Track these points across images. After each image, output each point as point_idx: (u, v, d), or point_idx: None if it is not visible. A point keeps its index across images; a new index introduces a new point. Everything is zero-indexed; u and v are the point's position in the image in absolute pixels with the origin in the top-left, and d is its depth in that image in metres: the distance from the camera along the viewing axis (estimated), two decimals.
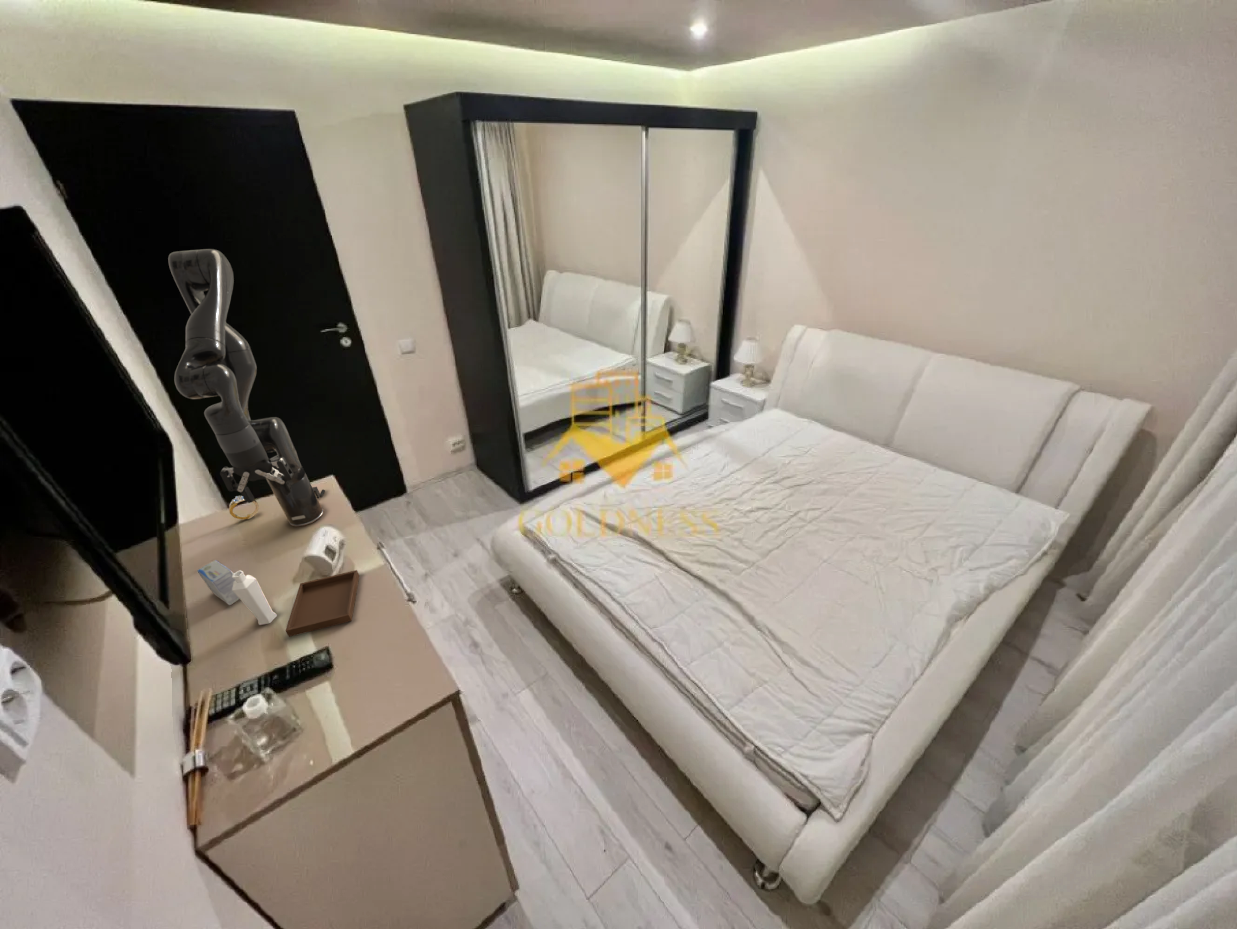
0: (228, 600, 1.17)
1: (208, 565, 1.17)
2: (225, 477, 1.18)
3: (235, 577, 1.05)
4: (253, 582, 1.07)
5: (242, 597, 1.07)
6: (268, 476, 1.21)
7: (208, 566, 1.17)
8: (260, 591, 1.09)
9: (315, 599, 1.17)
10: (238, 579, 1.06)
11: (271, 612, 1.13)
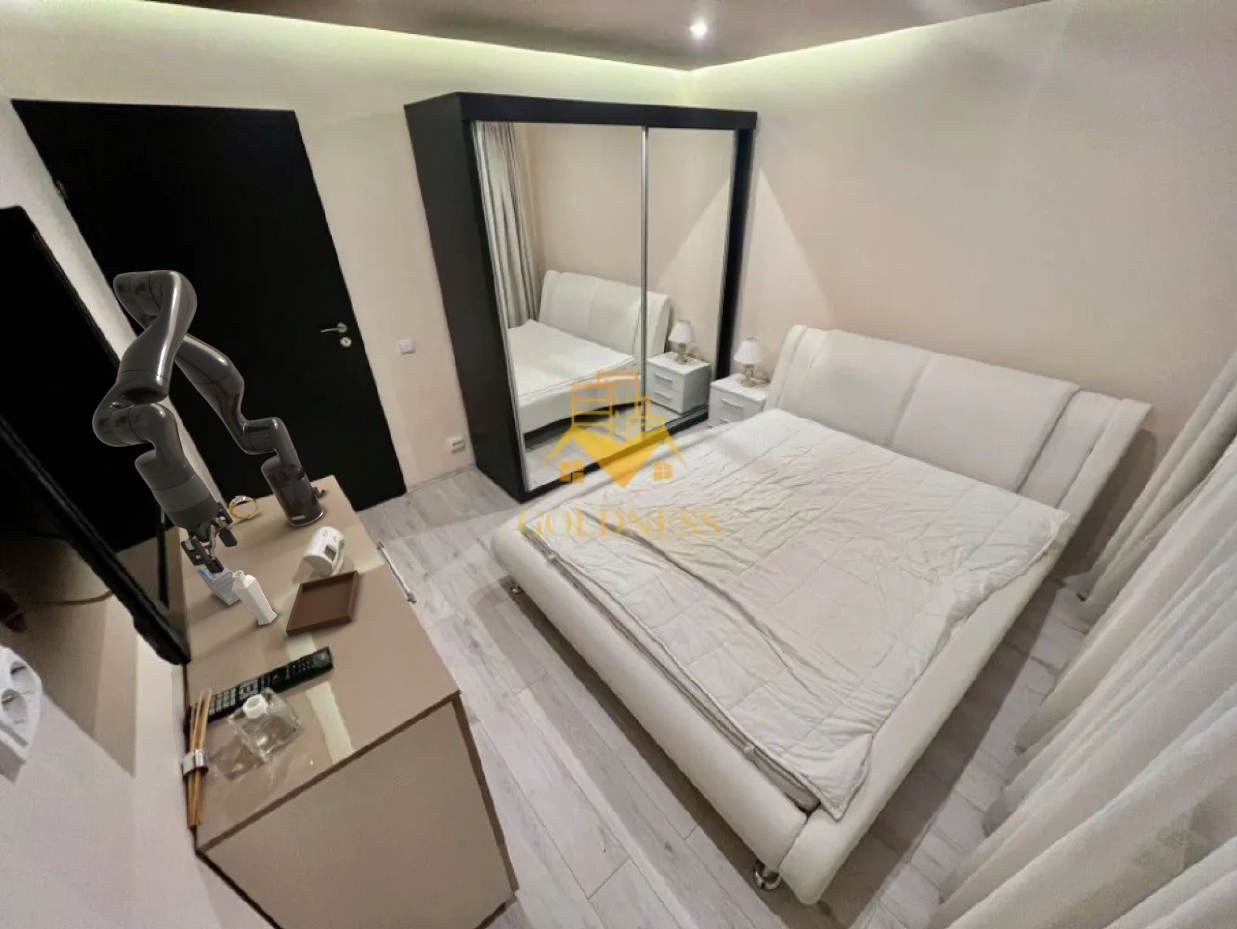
0: (228, 600, 1.17)
1: None
2: None
3: (235, 577, 1.05)
4: (253, 582, 1.07)
5: (242, 597, 1.07)
6: None
7: None
8: (260, 591, 1.09)
9: (315, 599, 1.17)
10: (238, 579, 1.06)
11: (271, 612, 1.13)
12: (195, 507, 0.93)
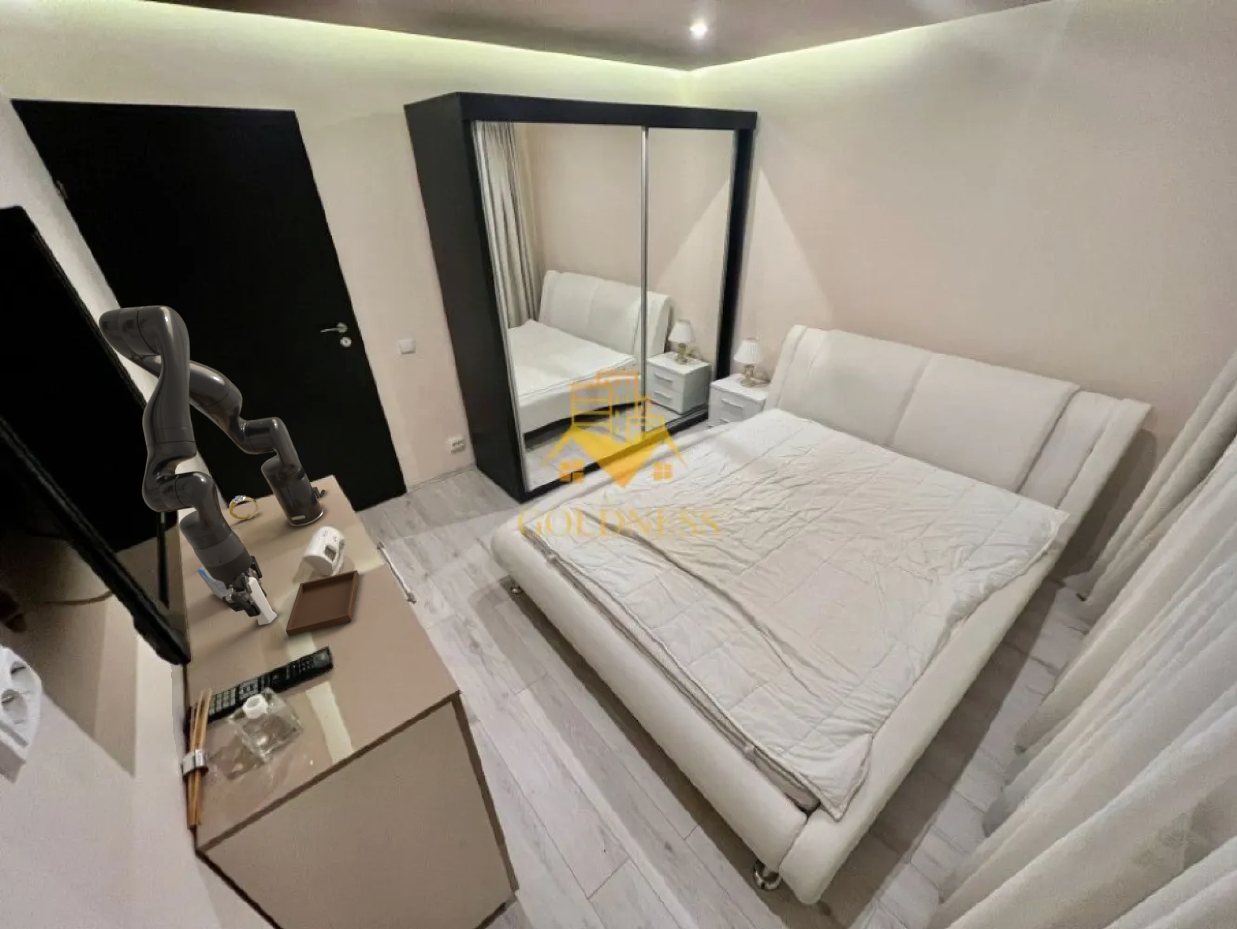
0: None
1: None
2: None
3: None
4: (253, 583, 1.07)
5: None
6: None
7: None
8: (260, 591, 1.09)
9: (315, 599, 1.17)
10: None
11: (271, 612, 1.13)
12: (232, 562, 1.01)
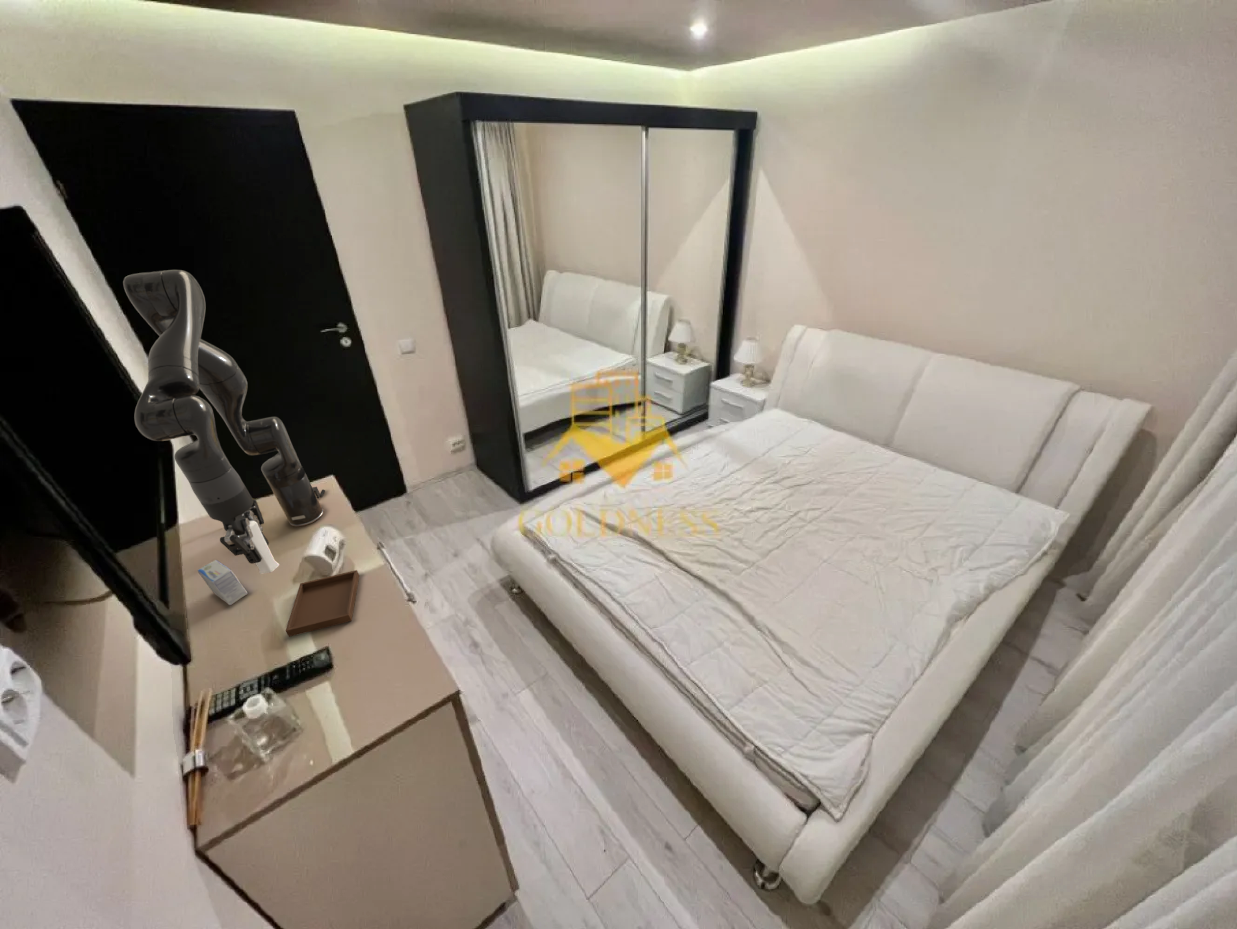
0: (228, 599, 1.17)
1: (208, 565, 1.17)
2: None
3: None
4: (254, 526, 1.00)
5: None
6: None
7: (208, 565, 1.17)
8: (261, 536, 1.02)
9: (315, 599, 1.17)
10: None
11: (273, 561, 1.06)
12: (231, 500, 0.94)
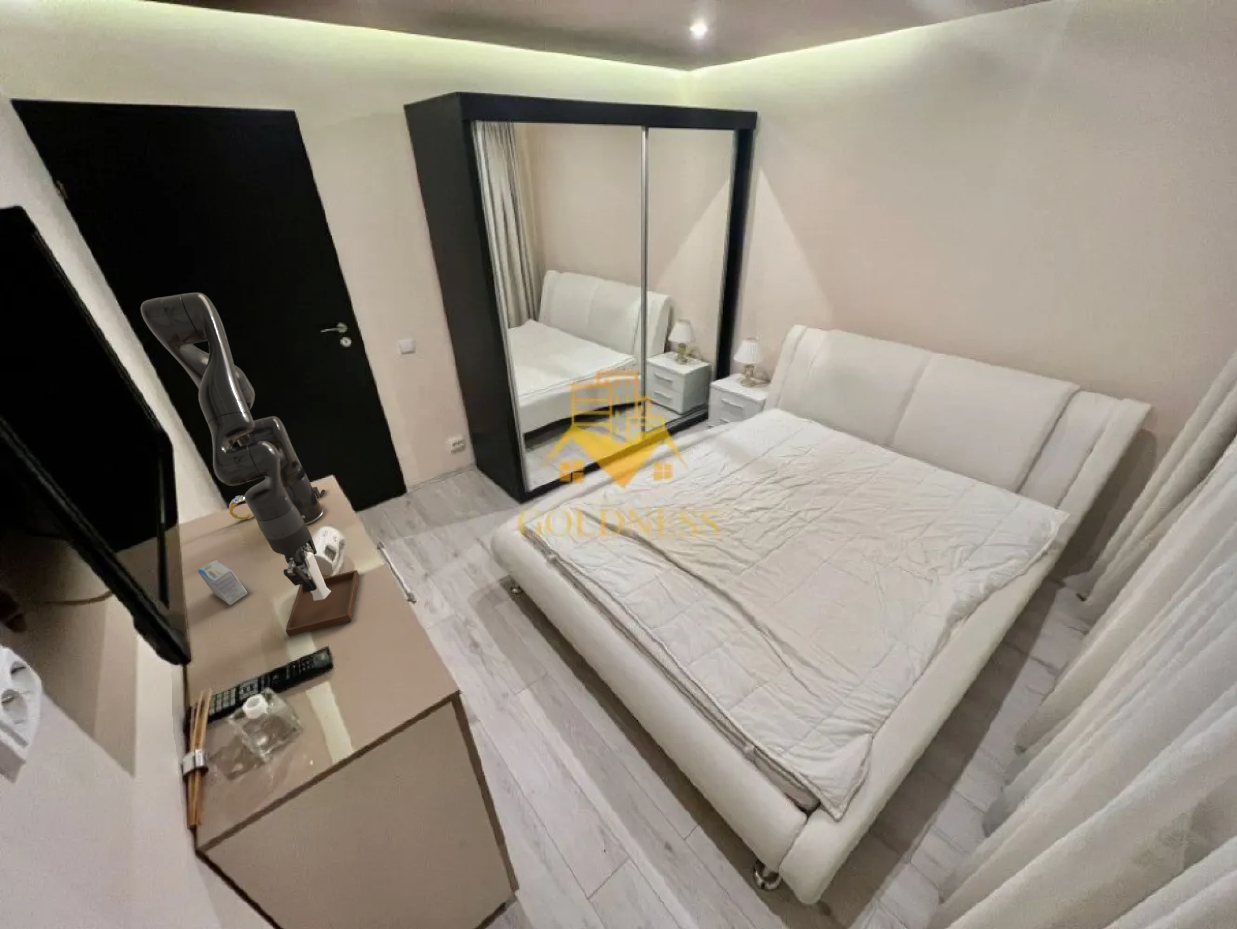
0: (228, 599, 1.17)
1: (208, 565, 1.17)
2: None
3: None
4: (311, 557, 1.08)
5: None
6: None
7: (209, 565, 1.17)
8: (316, 566, 1.10)
9: None
10: None
11: (325, 588, 1.14)
12: (293, 535, 1.02)
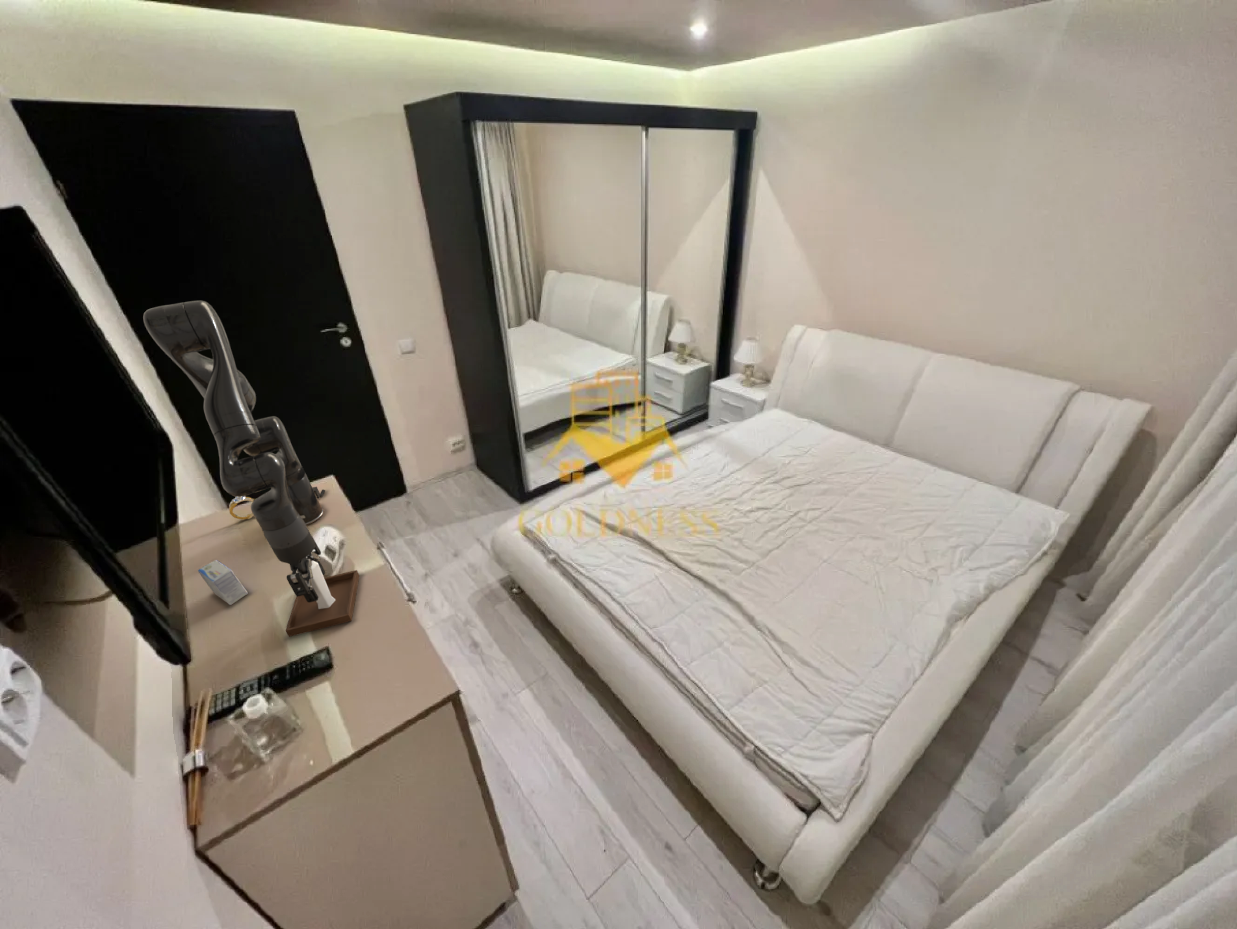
0: (228, 599, 1.17)
1: (209, 565, 1.17)
2: None
3: None
4: (316, 567, 1.10)
5: (305, 581, 1.10)
6: None
7: (209, 565, 1.17)
8: (321, 575, 1.12)
9: None
10: None
11: (330, 596, 1.16)
12: (299, 544, 1.03)
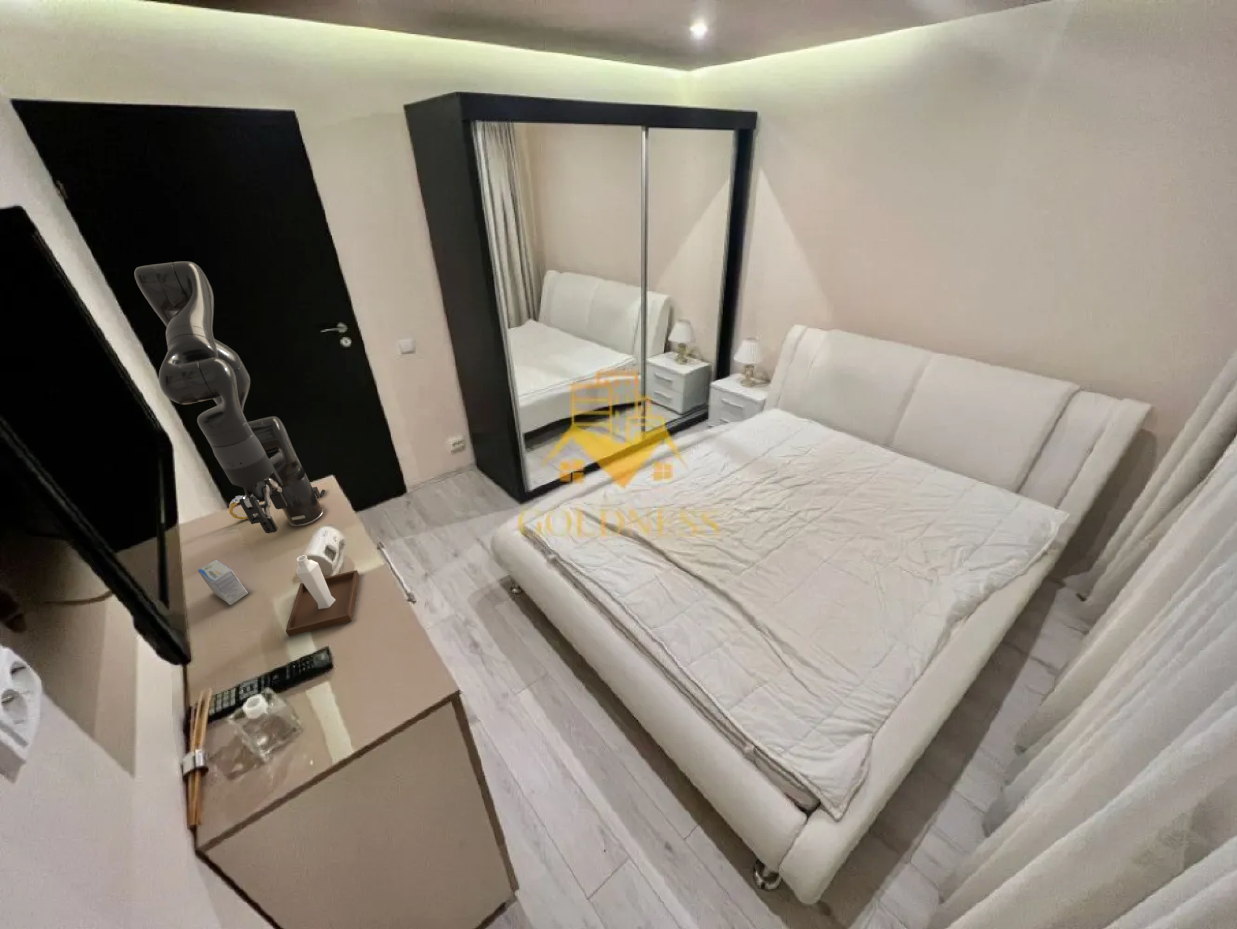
0: (228, 599, 1.17)
1: (209, 565, 1.17)
2: None
3: (299, 561, 1.08)
4: (316, 567, 1.10)
5: (305, 581, 1.10)
6: None
7: (209, 565, 1.17)
8: (321, 575, 1.12)
9: None
10: (302, 563, 1.08)
11: (330, 596, 1.16)
12: (253, 465, 0.94)
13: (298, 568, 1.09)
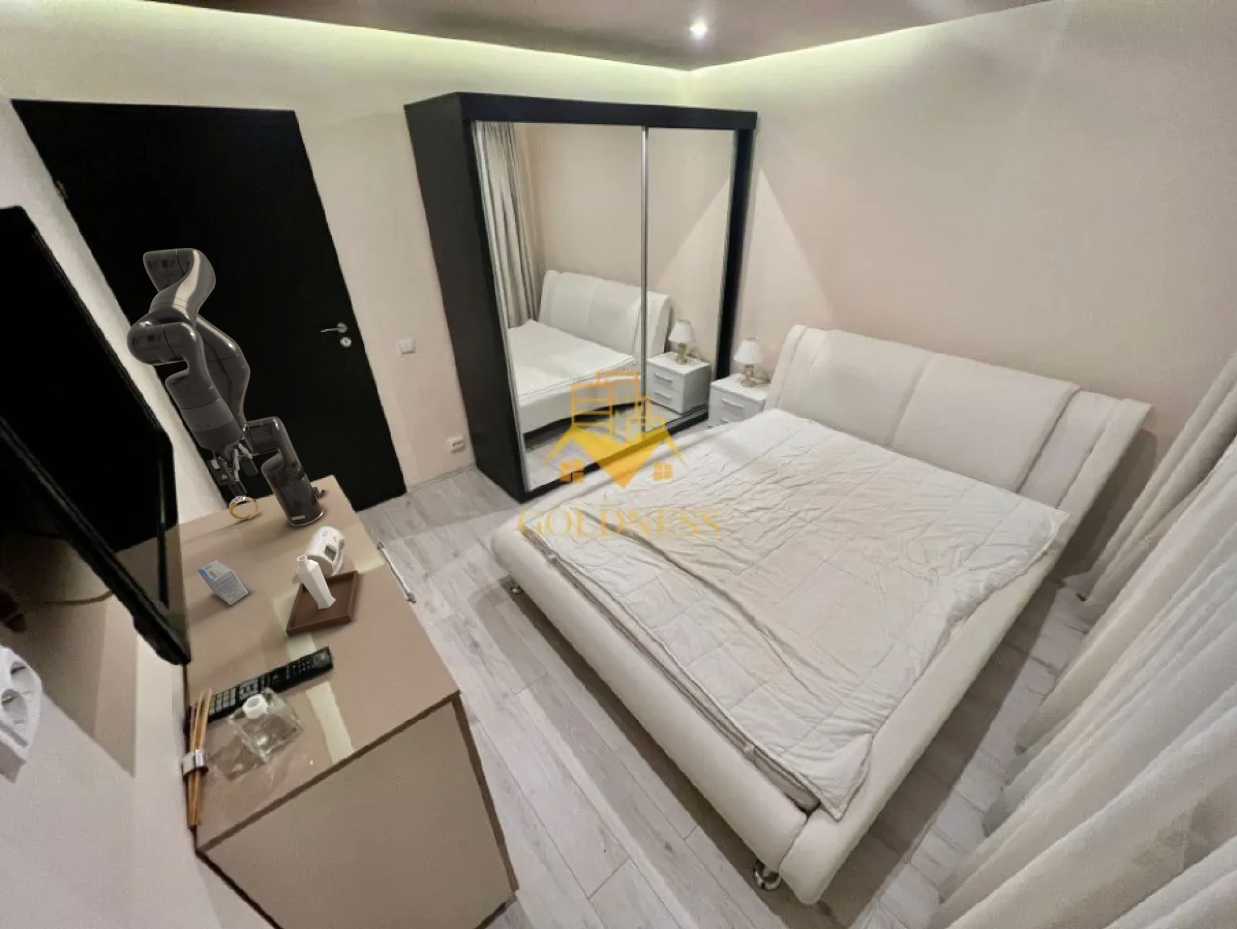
0: (228, 599, 1.17)
1: (209, 565, 1.17)
2: None
3: (299, 561, 1.08)
4: (316, 567, 1.10)
5: (305, 581, 1.10)
6: None
7: (209, 565, 1.17)
8: (321, 575, 1.12)
9: None
10: (303, 563, 1.08)
11: (330, 596, 1.16)
12: (220, 428, 0.98)
13: (298, 568, 1.09)
